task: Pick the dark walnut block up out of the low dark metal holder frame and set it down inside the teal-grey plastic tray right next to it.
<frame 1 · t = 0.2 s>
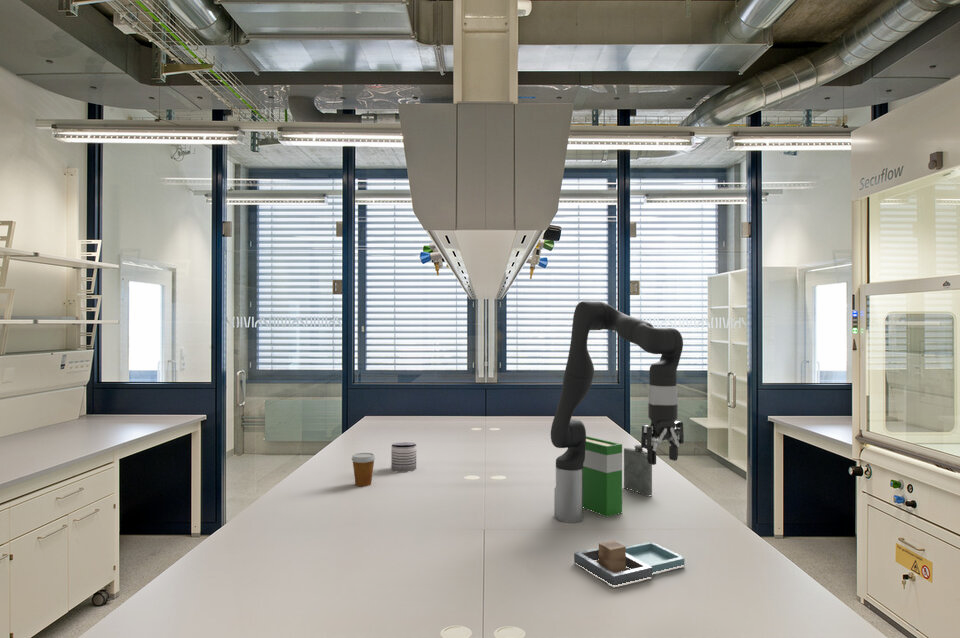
hand: (662, 462, 158), 29 cm above the table, tool pointing down, fingers open, 8 cm apart
holder: (612, 571, 155), on the table
can: (403, 469, 264), on the table
disposable coffee cup: (363, 484, 239), on the table
tray: (649, 562, 161), on the table
walnut block: (612, 558, 155), in the holder
hardback book: (596, 508, 209), on the table
flask: (638, 492, 230), on the table
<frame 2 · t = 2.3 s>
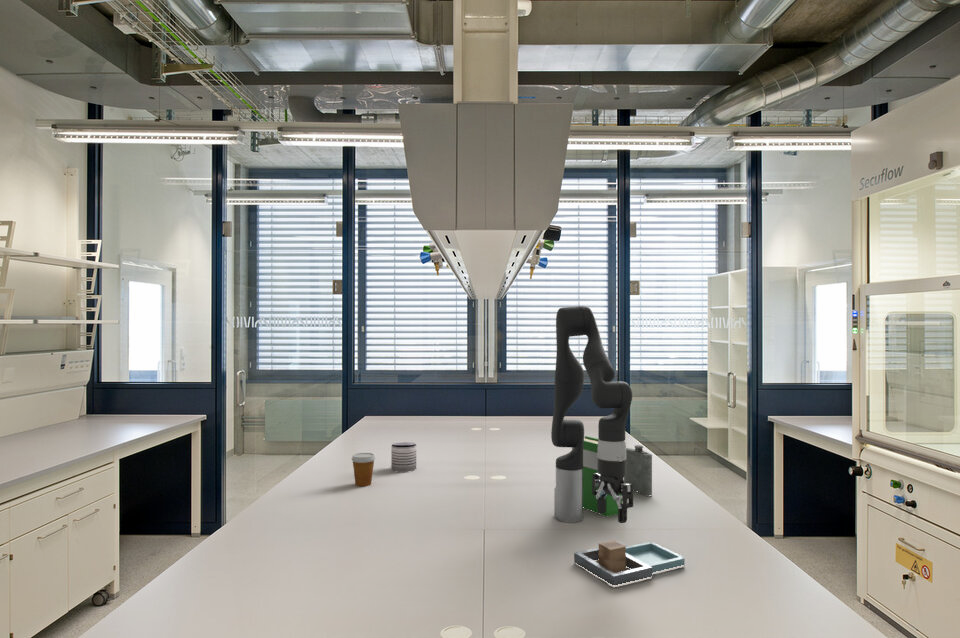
hand: (611, 517, 155), 14 cm above the table, tool pointing down, fingers open, 8 cm apart
nothing on the table moved.
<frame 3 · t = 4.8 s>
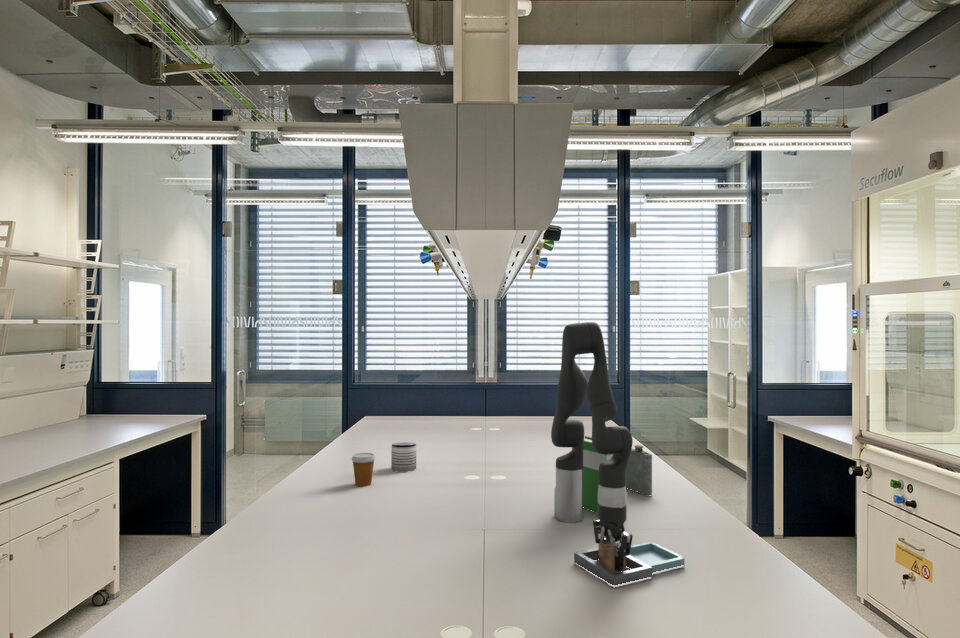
hand: (611, 565, 155), 1 cm above the table, tool pointing down, fingers closed on walnut block, 5 cm apart
walnut block: (611, 557, 155), in the holder, touching gripper
everything else where it was.
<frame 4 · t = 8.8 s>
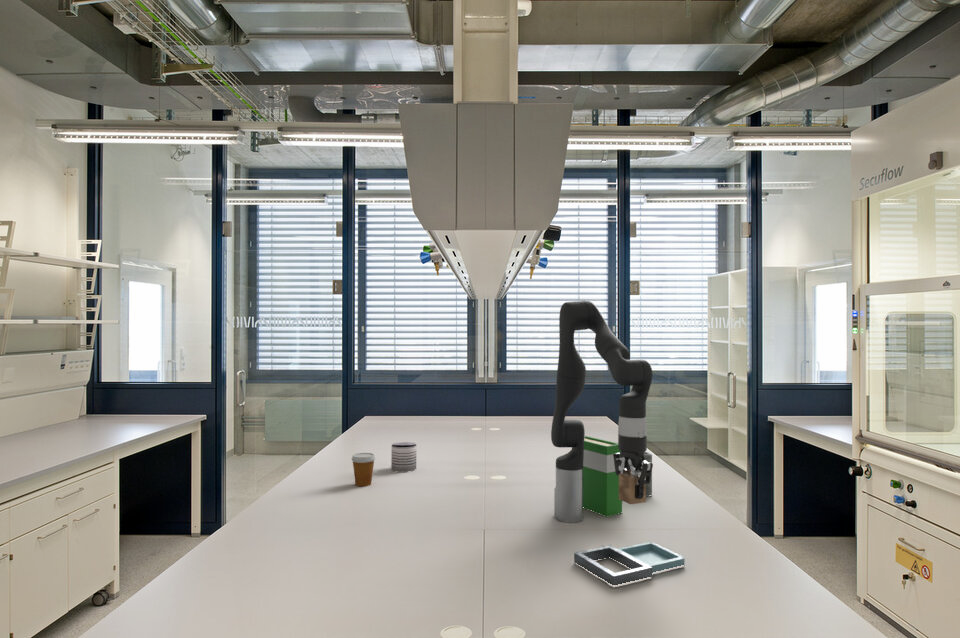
hand: (632, 495, 159), 19 cm above the table, tool pointing down, fingers closed on walnut block, 5 cm apart
walnut block: (632, 487, 159), point 21 cm above the table, touching gripper
everything else where it was.
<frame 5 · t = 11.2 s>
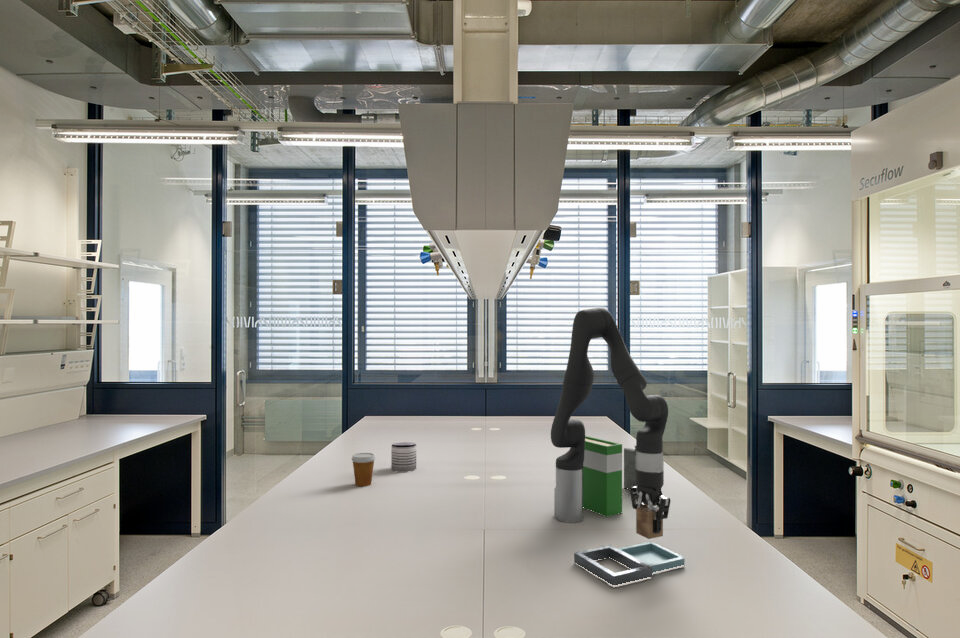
hand: (649, 529, 161), 9 cm above the table, tool pointing down, fingers closed on walnut block, 5 cm apart
walnut block: (649, 521, 161), point 11 cm above the table, touching gripper
everything else where it was.
when the fingers open (4 cm above the table, at t = 13.2 s): walnut block drops 1 cm, resting on tray.
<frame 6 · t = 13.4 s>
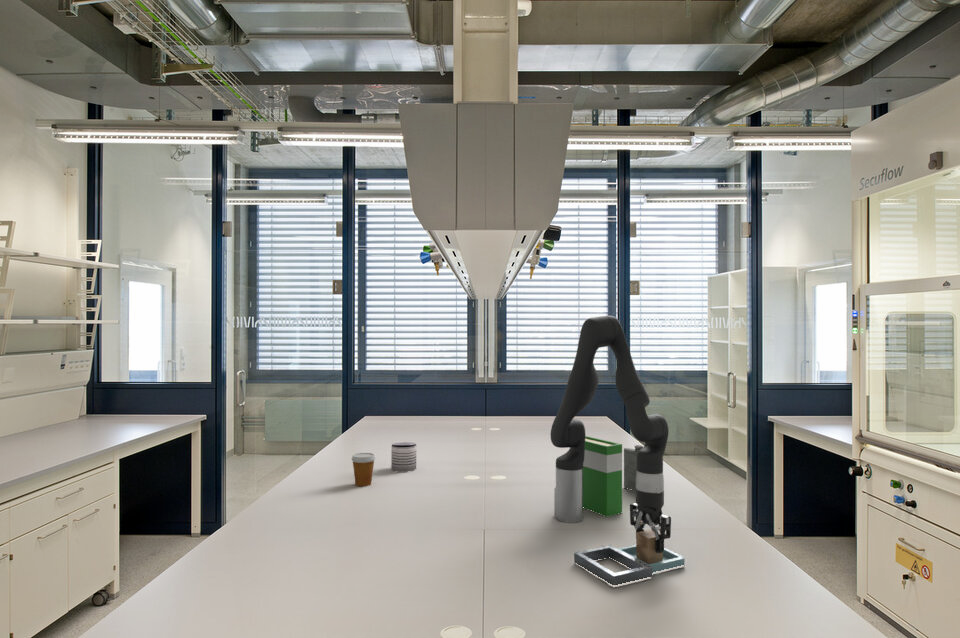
hand: (649, 547, 161), 4 cm above the table, tool pointing down, fingers open, 7 cm apart
walnut block: (649, 546, 161), in the tray, point 4 cm above the table
everything else where it was.
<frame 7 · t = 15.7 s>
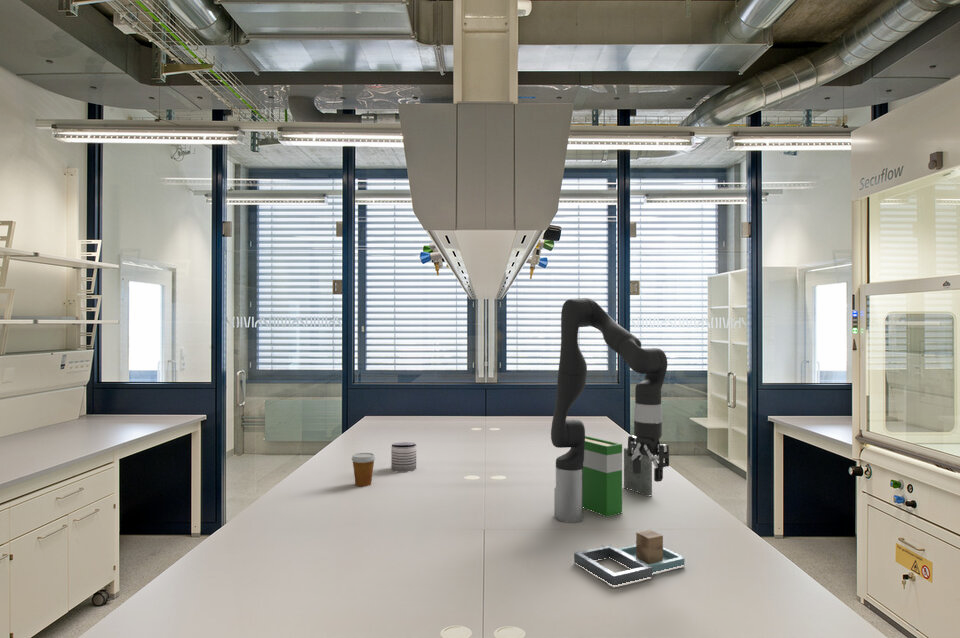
hand: (647, 477, 164), 23 cm above the table, tool pointing down, fingers open, 8 cm apart
nothing on the table moved.
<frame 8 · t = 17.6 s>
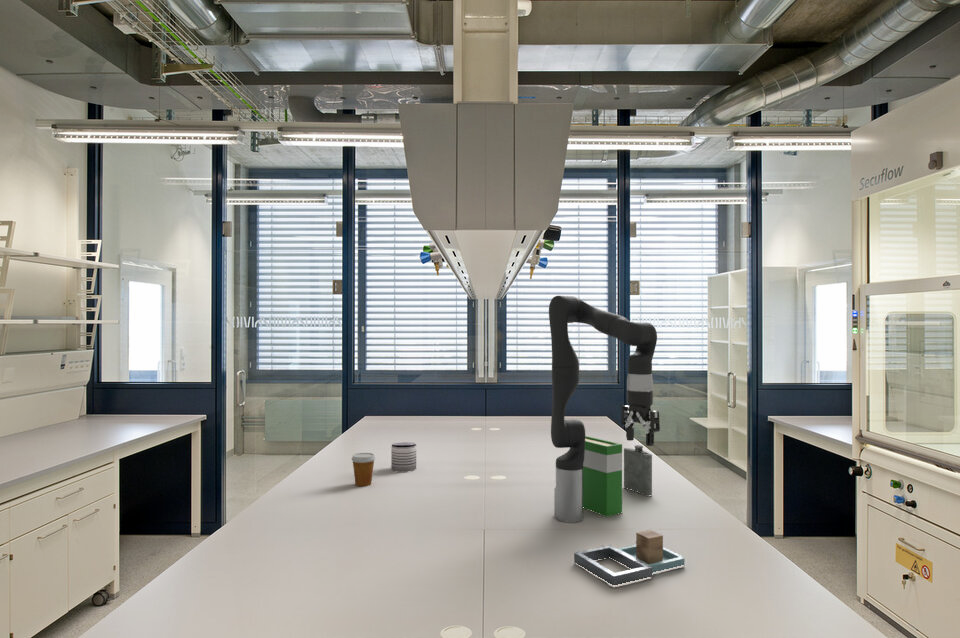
hand: (639, 442, 175), 30 cm above the table, tool pointing down, fingers open, 8 cm apart
nothing on the table moved.
at the end: walnut block 0.1 cm off-centre on the tray, point 4.3 cm above the tray's base; walnut block tilted 0°; the gripper is holding nothing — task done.
